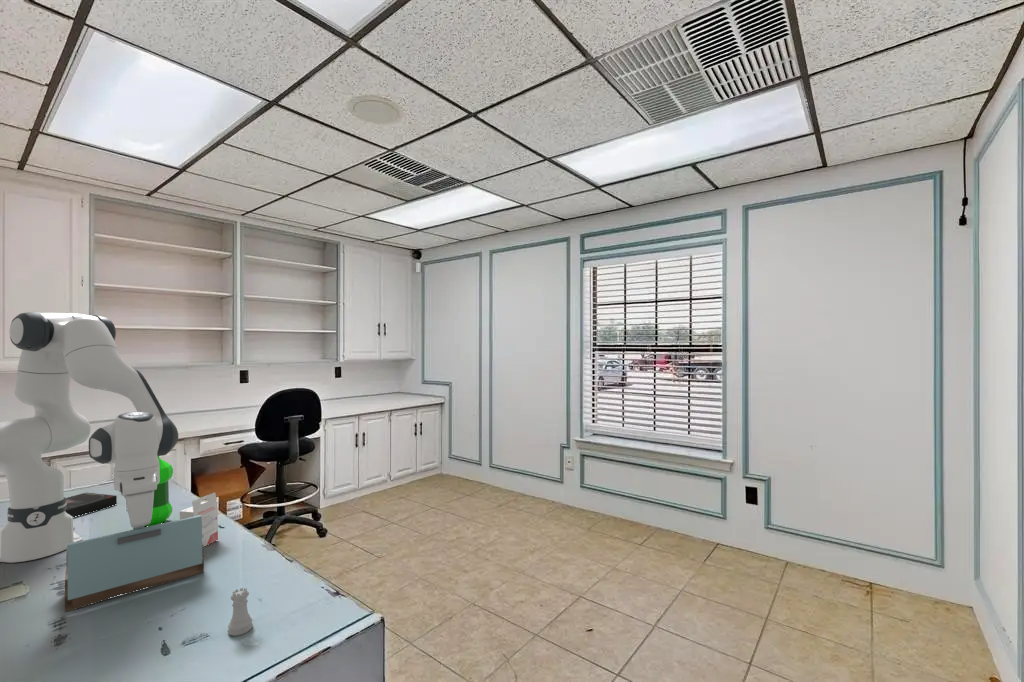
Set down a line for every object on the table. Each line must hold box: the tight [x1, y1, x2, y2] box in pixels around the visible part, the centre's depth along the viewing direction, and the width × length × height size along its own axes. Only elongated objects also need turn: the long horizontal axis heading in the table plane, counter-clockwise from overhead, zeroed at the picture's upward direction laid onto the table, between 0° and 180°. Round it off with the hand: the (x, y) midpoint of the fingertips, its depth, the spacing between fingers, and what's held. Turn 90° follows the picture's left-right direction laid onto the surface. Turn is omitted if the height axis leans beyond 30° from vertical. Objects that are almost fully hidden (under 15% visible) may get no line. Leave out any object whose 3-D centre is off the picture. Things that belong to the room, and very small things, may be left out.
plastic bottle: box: [144, 456, 174, 527], centre depth 156 cm, size 10×10×25 cm
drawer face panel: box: [66, 515, 202, 600], centre depth 112 cm, size 2×25×12 cm, turn 132°
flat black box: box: [65, 492, 118, 517], centre depth 170 cm, size 16×17×4 cm
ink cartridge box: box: [179, 492, 219, 548], centre depth 138 cm, size 9×5×15 cm, turn 168°
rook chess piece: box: [227, 587, 254, 637], centre depth 96 cm, size 4×4×8 cm
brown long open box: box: [64, 544, 205, 613], centre depth 117 cm, size 12×26×10 cm, turn 132°
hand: (138, 534), depth 116 cm, fingers closed
